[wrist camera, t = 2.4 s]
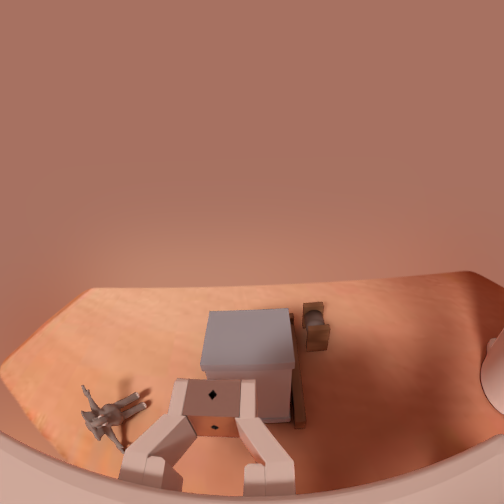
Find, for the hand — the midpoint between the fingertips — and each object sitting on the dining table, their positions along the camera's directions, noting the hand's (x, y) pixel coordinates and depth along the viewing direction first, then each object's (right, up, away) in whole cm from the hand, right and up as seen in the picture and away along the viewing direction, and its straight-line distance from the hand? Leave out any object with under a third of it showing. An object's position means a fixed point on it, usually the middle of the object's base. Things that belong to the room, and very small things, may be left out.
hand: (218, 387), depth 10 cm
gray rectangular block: (+2, -14, +24) cm, 27 cm away
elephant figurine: (-16, -17, +20) cm, 31 cm away
